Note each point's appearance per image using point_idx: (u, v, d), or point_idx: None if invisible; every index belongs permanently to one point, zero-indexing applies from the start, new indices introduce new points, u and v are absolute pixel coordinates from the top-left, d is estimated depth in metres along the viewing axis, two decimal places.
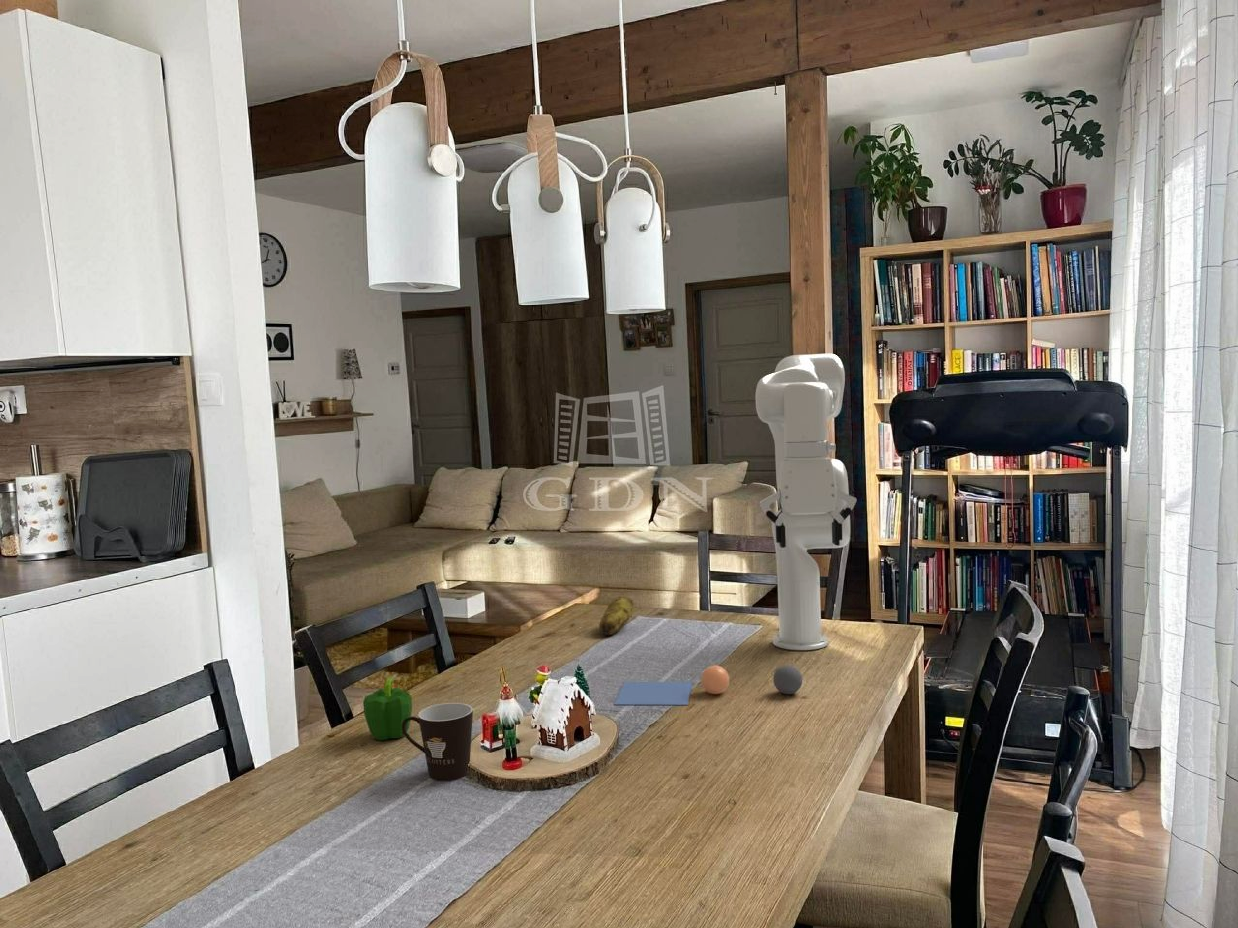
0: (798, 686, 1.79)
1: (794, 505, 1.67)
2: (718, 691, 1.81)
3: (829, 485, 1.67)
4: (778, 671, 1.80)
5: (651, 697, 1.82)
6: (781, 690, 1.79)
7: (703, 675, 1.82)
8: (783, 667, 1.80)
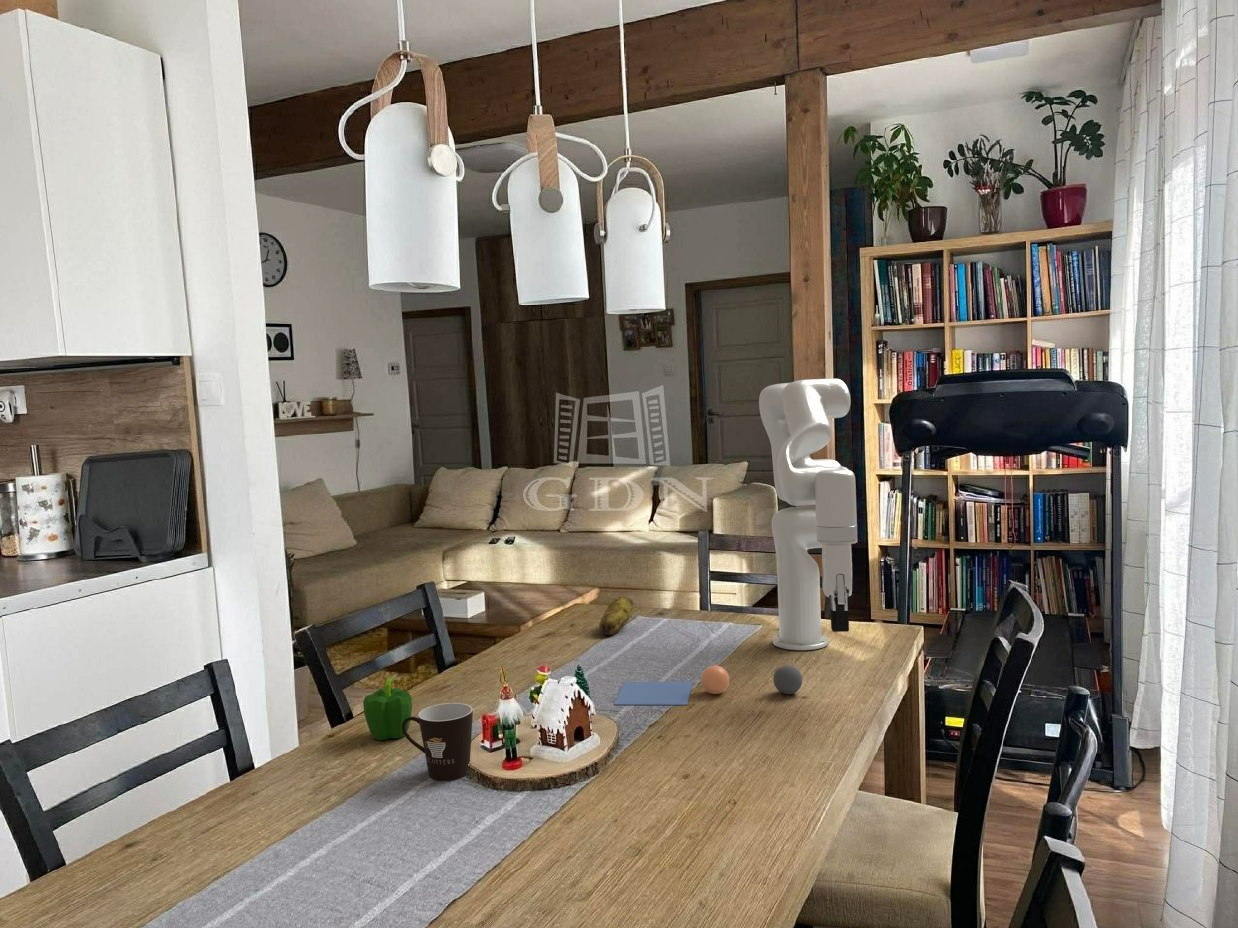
0: (798, 686, 1.79)
1: None
2: (718, 691, 1.81)
3: None
4: (778, 671, 1.80)
5: (651, 697, 1.82)
6: (781, 690, 1.79)
7: (703, 675, 1.82)
8: (783, 667, 1.80)
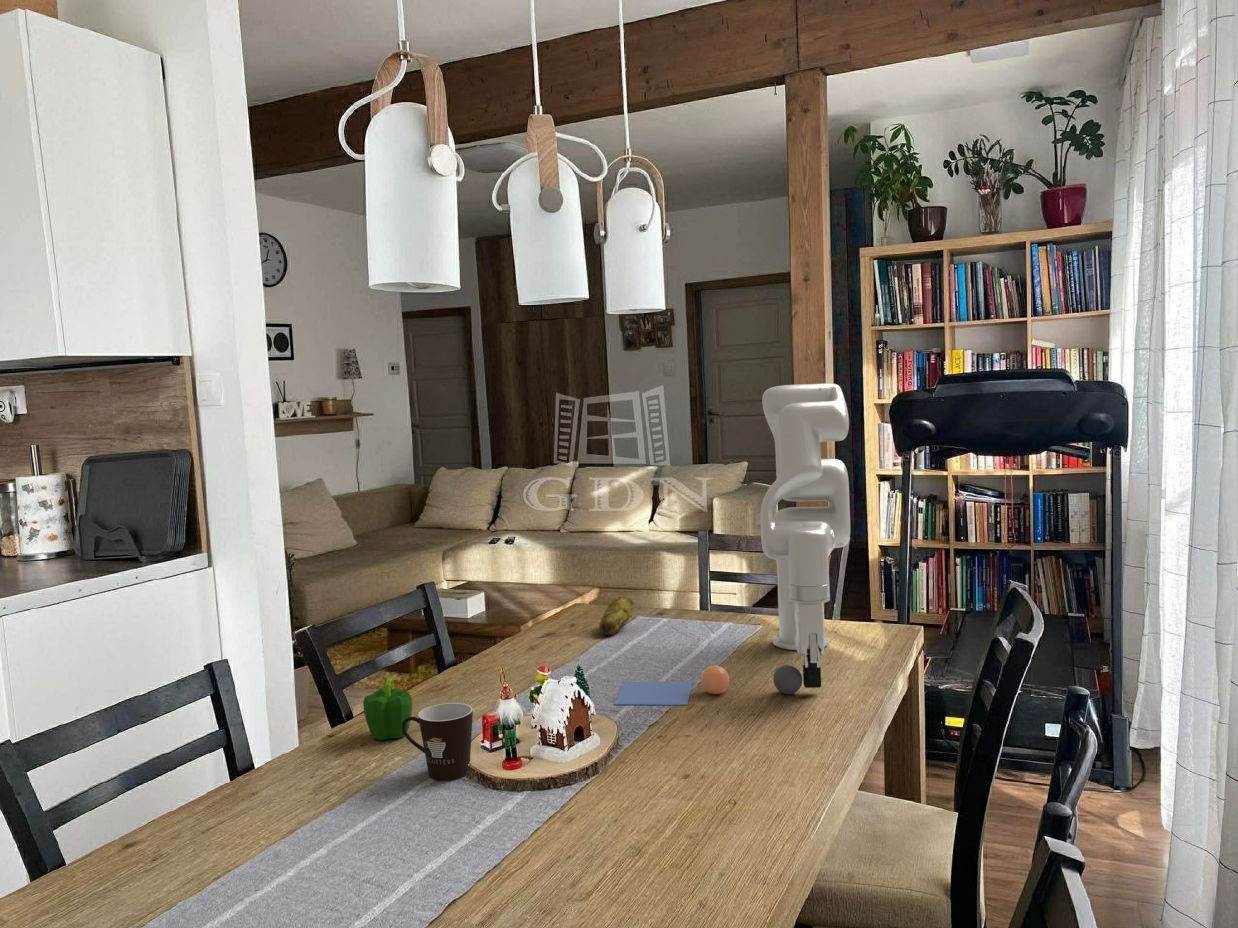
0: (798, 686, 1.79)
1: None
2: (718, 691, 1.81)
3: None
4: (778, 671, 1.80)
5: (651, 697, 1.82)
6: (781, 690, 1.79)
7: (703, 675, 1.82)
8: (783, 667, 1.80)
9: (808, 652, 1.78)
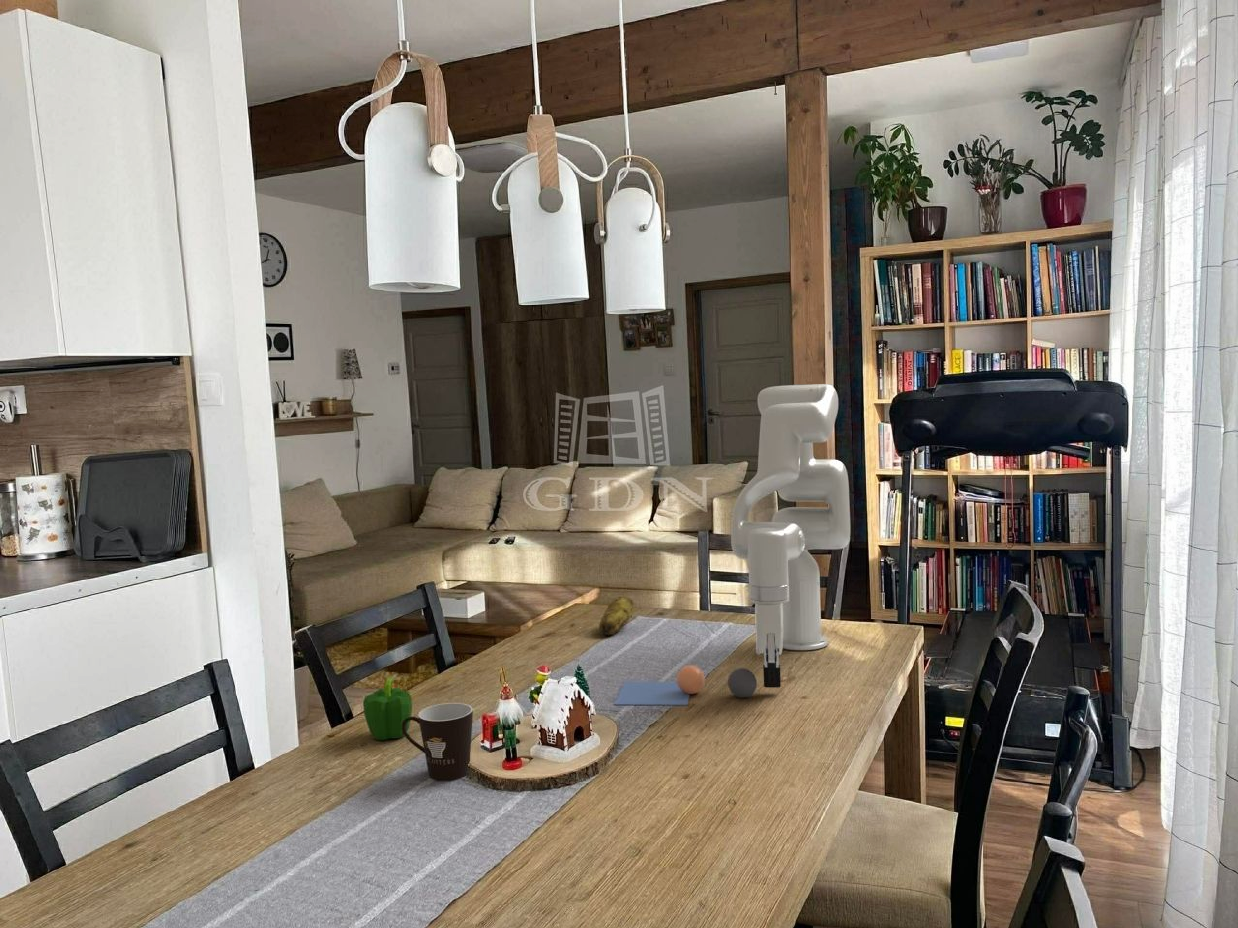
0: (735, 685, 1.78)
1: (782, 644, 1.78)
2: (697, 678, 1.81)
3: None
4: None
5: (651, 697, 1.82)
6: (752, 683, 1.78)
7: (686, 692, 1.83)
8: None
9: (767, 652, 1.79)
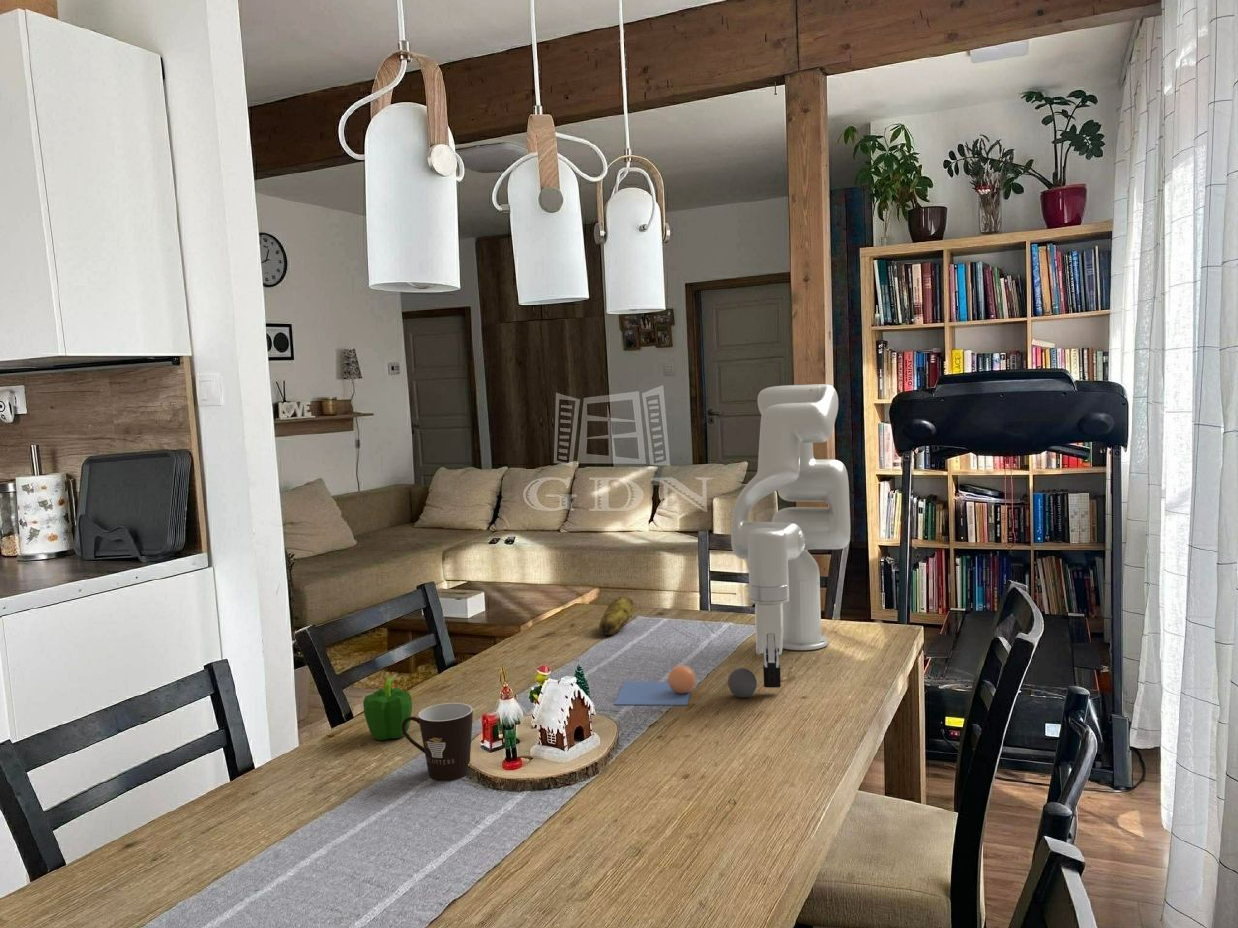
0: (735, 685, 1.78)
1: (782, 644, 1.78)
2: (684, 674, 1.82)
3: None
4: None
5: (651, 697, 1.82)
6: (752, 683, 1.78)
7: (685, 693, 1.83)
8: None
9: (767, 652, 1.79)
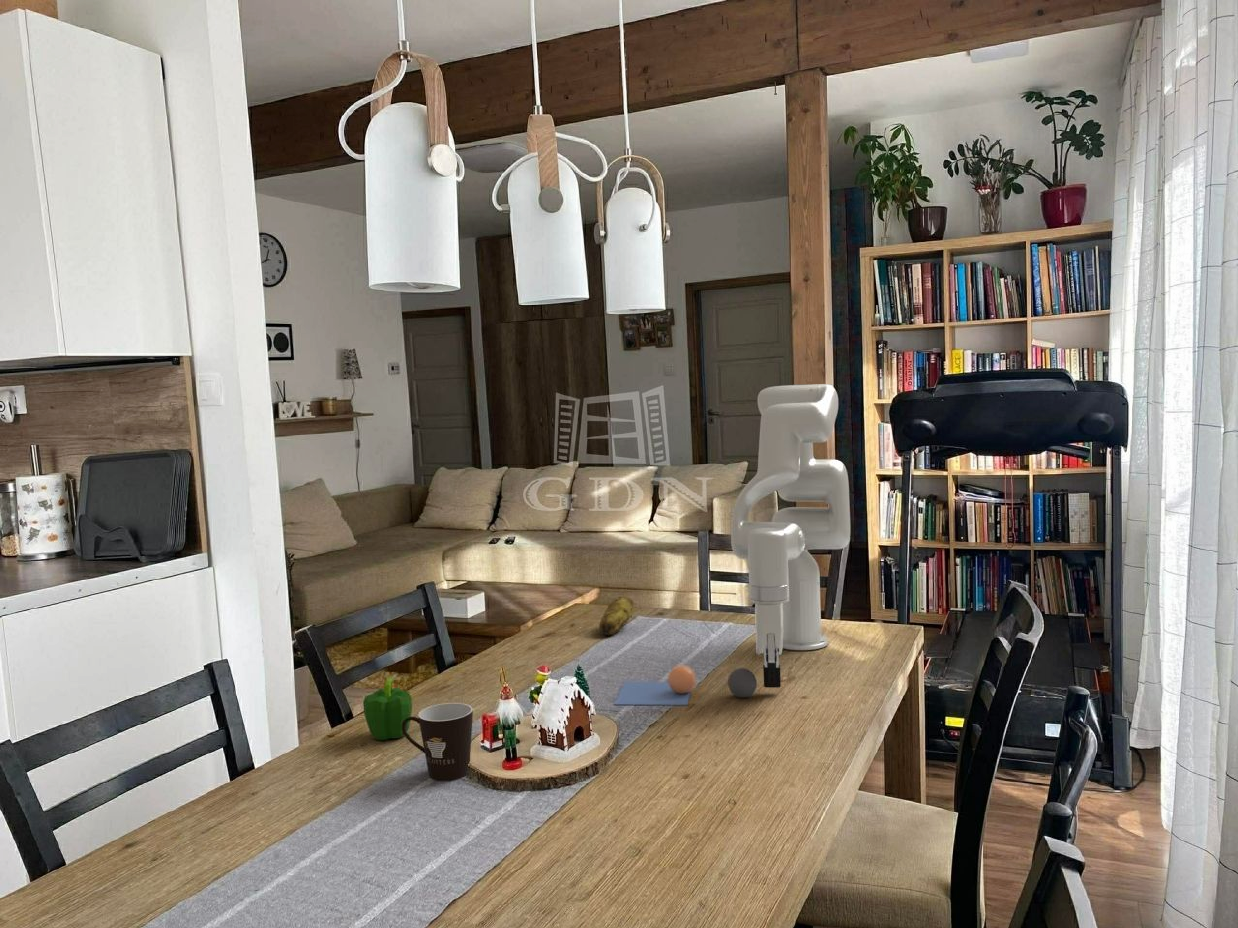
0: (735, 685, 1.78)
1: (782, 644, 1.78)
2: (684, 674, 1.82)
3: None
4: None
5: (651, 697, 1.82)
6: (752, 683, 1.78)
7: (685, 693, 1.83)
8: None
9: (767, 652, 1.79)
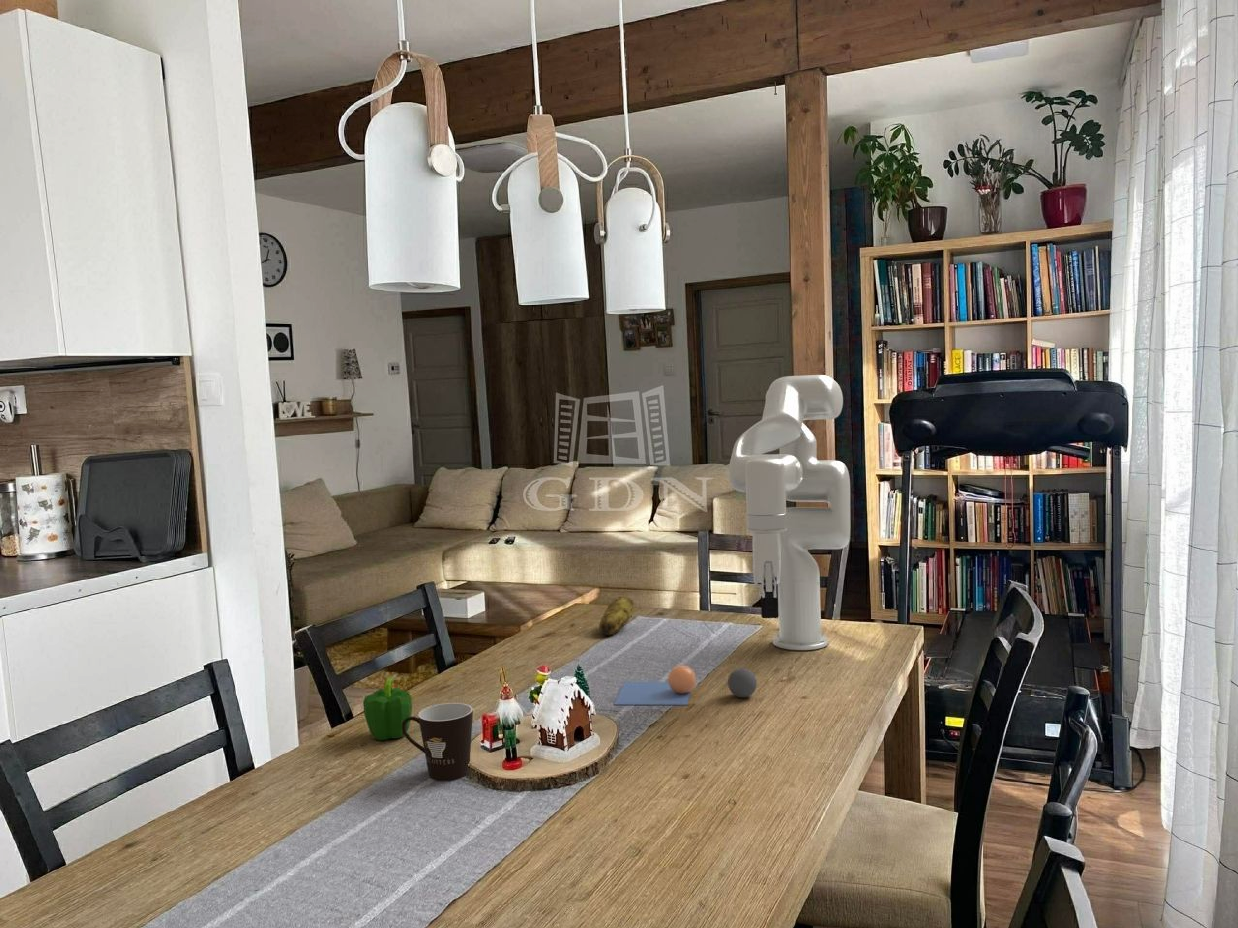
0: (735, 685, 1.78)
1: None
2: (684, 674, 1.82)
3: None
4: None
5: (651, 697, 1.82)
6: (752, 683, 1.78)
7: (685, 693, 1.83)
8: None
9: (765, 582, 1.78)
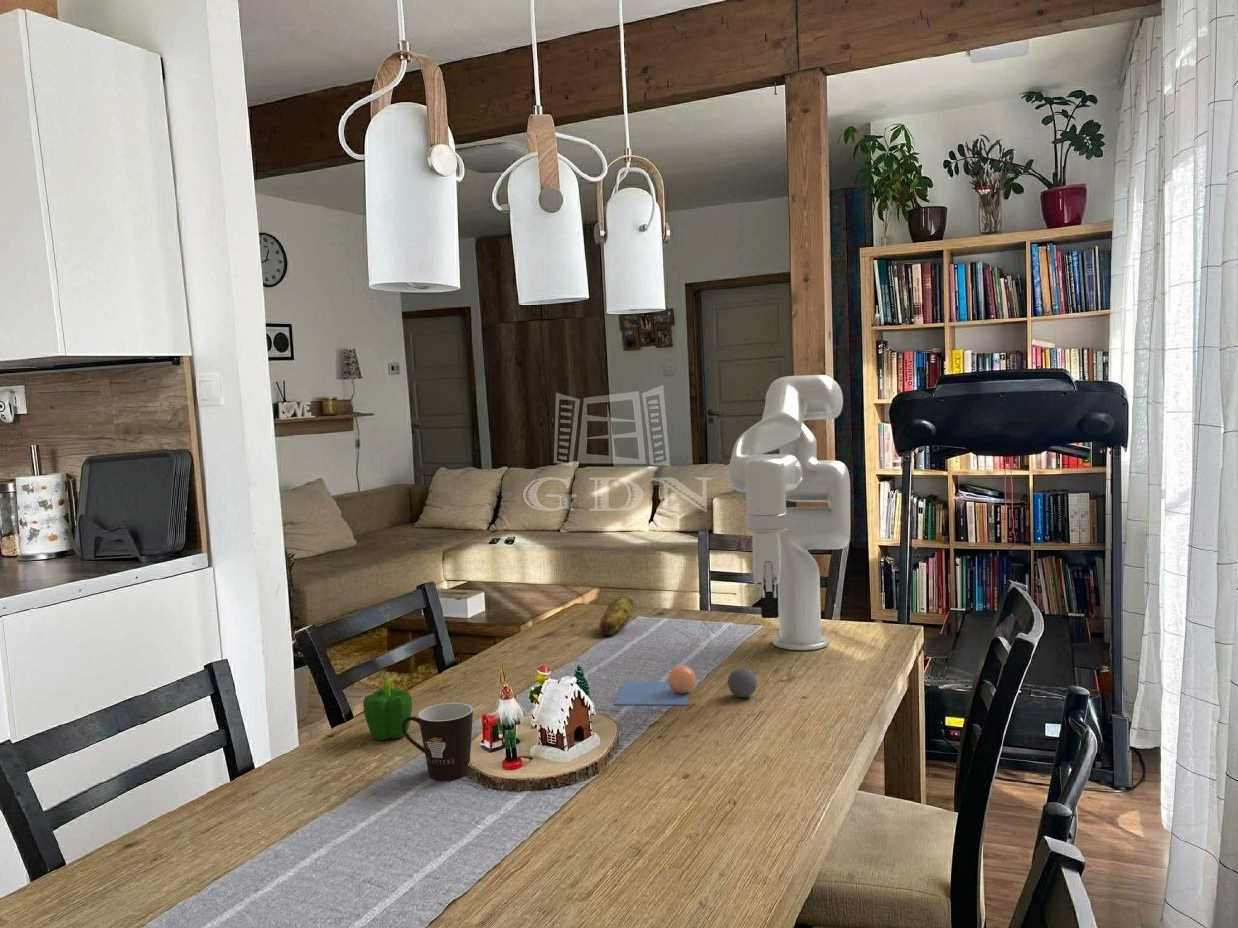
0: (735, 685, 1.78)
1: None
2: (684, 674, 1.82)
3: None
4: None
5: (651, 697, 1.82)
6: (752, 683, 1.78)
7: (685, 693, 1.83)
8: None
9: (765, 582, 1.78)
